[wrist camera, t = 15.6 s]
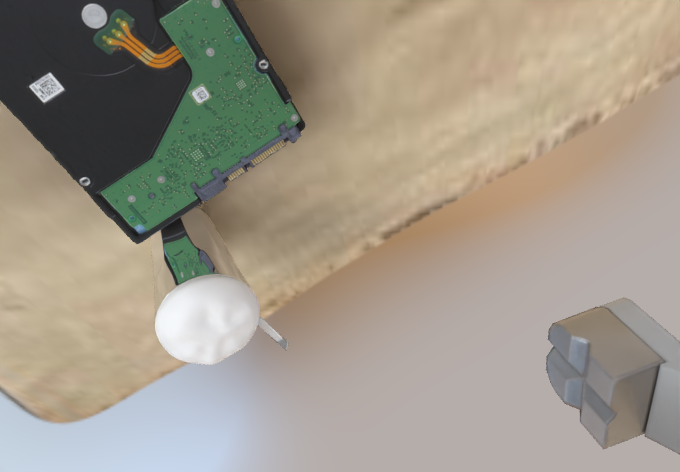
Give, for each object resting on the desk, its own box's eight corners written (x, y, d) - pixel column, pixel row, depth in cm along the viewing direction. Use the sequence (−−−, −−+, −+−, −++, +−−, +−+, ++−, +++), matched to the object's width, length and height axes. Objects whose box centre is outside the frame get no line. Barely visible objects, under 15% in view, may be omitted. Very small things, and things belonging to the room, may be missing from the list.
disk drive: (-115, -43, 24) (133, 223, 33) (-133, -31, 22) (138, 250, 31) (113, -194, 25) (299, 111, 34) (118, -197, 22) (317, 131, 31)
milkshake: (229, 266, 37) (276, 387, 29) (131, 263, 35) (154, 393, 27) (244, 195, 35) (300, 304, 27) (142, 187, 33) (170, 303, 25)
